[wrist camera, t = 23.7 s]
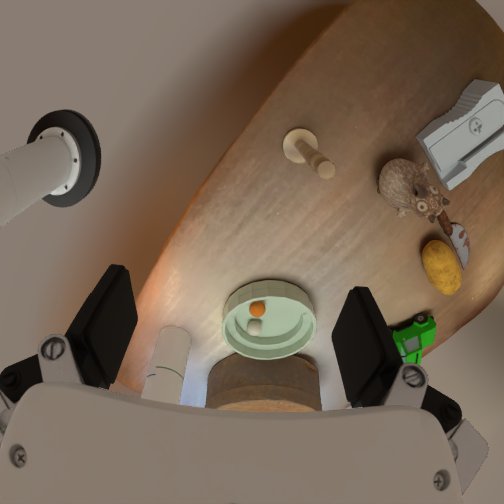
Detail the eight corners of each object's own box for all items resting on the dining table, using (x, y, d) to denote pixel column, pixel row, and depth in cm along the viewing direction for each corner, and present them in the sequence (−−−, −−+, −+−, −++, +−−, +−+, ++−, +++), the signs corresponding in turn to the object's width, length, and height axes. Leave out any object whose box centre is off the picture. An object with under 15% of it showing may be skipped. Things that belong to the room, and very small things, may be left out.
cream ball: (242, 332, 52) (251, 339, 50) (244, 319, 51) (254, 326, 49) (253, 330, 54) (263, 336, 52) (256, 317, 53) (266, 323, 51)
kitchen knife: (477, 257, 45) (464, 273, 46) (472, 254, 47) (460, 269, 48) (451, 192, 37) (436, 211, 39) (445, 189, 39) (430, 208, 40)
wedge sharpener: (496, 126, 31) (520, 135, 25) (442, 185, 38) (465, 200, 32) (474, 79, 27) (500, 81, 21) (414, 137, 34) (439, 145, 28)
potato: (430, 287, 50) (445, 308, 44) (408, 247, 45) (425, 268, 39) (453, 267, 47) (470, 286, 41) (434, 223, 42) (455, 242, 36)
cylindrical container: (153, 330, 55) (123, 432, 34) (178, 322, 54) (152, 432, 32) (172, 350, 59) (151, 447, 37) (197, 343, 57) (180, 447, 36)
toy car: (427, 328, 57) (442, 357, 48) (368, 353, 60) (379, 385, 52) (428, 307, 53) (447, 337, 44) (364, 334, 56) (377, 368, 48)
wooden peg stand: (276, 135, 35) (292, 153, 22) (309, 123, 34) (344, 136, 21) (289, 166, 38) (309, 203, 25) (321, 155, 37) (357, 186, 24)
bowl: (222, 338, 56) (220, 356, 52) (226, 274, 47) (223, 292, 43) (300, 343, 57) (303, 360, 53) (321, 281, 48) (327, 299, 44)
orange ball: (267, 302, 48) (264, 318, 47) (266, 302, 50) (263, 318, 50) (250, 298, 48) (247, 315, 47) (250, 299, 51) (247, 315, 50)
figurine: (385, 135, 35) (444, 158, 22) (424, 169, 37) (481, 204, 24) (355, 182, 39) (401, 224, 26) (396, 211, 41) (444, 259, 28)
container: (319, 341, 56) (330, 400, 44) (312, 395, 71) (317, 440, 58) (196, 348, 59) (185, 405, 46) (220, 400, 73) (216, 443, 61)
